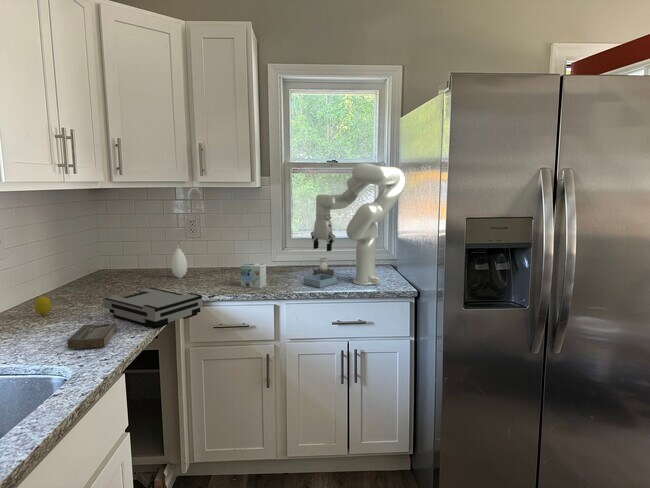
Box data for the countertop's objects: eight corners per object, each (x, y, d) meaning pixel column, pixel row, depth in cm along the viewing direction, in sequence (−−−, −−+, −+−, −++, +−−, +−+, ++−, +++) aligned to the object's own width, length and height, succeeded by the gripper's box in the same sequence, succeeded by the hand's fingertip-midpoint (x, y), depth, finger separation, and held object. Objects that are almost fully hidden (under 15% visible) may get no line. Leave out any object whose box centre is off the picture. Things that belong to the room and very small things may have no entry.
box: (66, 350, 135) (66, 340, 134) (83, 332, 151) (83, 324, 151) (104, 348, 137) (104, 338, 137) (117, 331, 154) (117, 322, 153)
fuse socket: (333, 275, 238) (333, 269, 238) (323, 277, 233) (323, 271, 232) (323, 273, 243) (323, 267, 243) (313, 275, 238) (313, 269, 237)
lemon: (48, 312, 174) (46, 293, 172) (54, 315, 170) (52, 295, 169) (32, 316, 169) (30, 296, 168) (39, 319, 166) (36, 298, 165)
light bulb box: (240, 286, 214) (240, 265, 212) (247, 283, 220) (246, 262, 218) (261, 288, 211) (260, 266, 209) (266, 285, 217) (266, 263, 215)
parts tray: (336, 283, 218) (336, 277, 218) (320, 288, 210) (320, 281, 209) (320, 280, 226) (320, 273, 225) (303, 284, 217) (303, 277, 217)
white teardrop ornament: (183, 275, 240) (181, 242, 237) (190, 277, 234) (188, 243, 232) (169, 277, 234) (167, 244, 232) (176, 279, 229) (174, 245, 226)
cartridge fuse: (329, 275, 238) (329, 258, 237) (323, 276, 235) (323, 259, 234) (323, 274, 241) (323, 257, 240) (318, 275, 238) (317, 258, 237)
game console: (151, 303, 187) (150, 284, 186) (203, 316, 170) (201, 295, 168) (104, 316, 170) (102, 295, 169) (156, 331, 152) (154, 308, 151)
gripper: (339, 218, 230) (339, 251, 233) (316, 216, 242) (315, 246, 245) (330, 219, 225) (329, 252, 228) (306, 217, 237) (306, 248, 239)
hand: (322, 249), depth 236 cm, fingers open, 9 cm apart
